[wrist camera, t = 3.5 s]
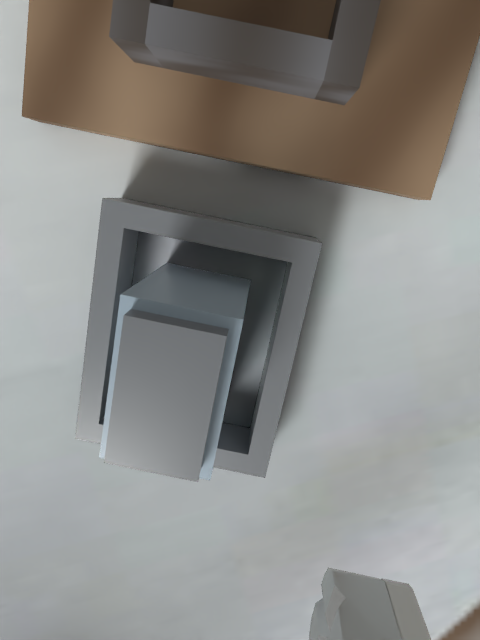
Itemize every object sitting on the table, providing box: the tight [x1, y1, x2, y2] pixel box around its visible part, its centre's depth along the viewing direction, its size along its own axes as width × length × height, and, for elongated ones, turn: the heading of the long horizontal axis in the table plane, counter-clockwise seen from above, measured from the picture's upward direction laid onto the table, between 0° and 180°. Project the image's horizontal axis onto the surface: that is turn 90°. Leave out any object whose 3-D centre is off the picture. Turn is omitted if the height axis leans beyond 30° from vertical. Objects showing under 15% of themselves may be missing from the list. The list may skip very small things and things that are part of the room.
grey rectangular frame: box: [75, 198, 322, 478], centre depth 21 cm, size 9×11×2 cm
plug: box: [99, 263, 251, 482], centre depth 19 cm, size 4×6×8 cm, turn 169°
